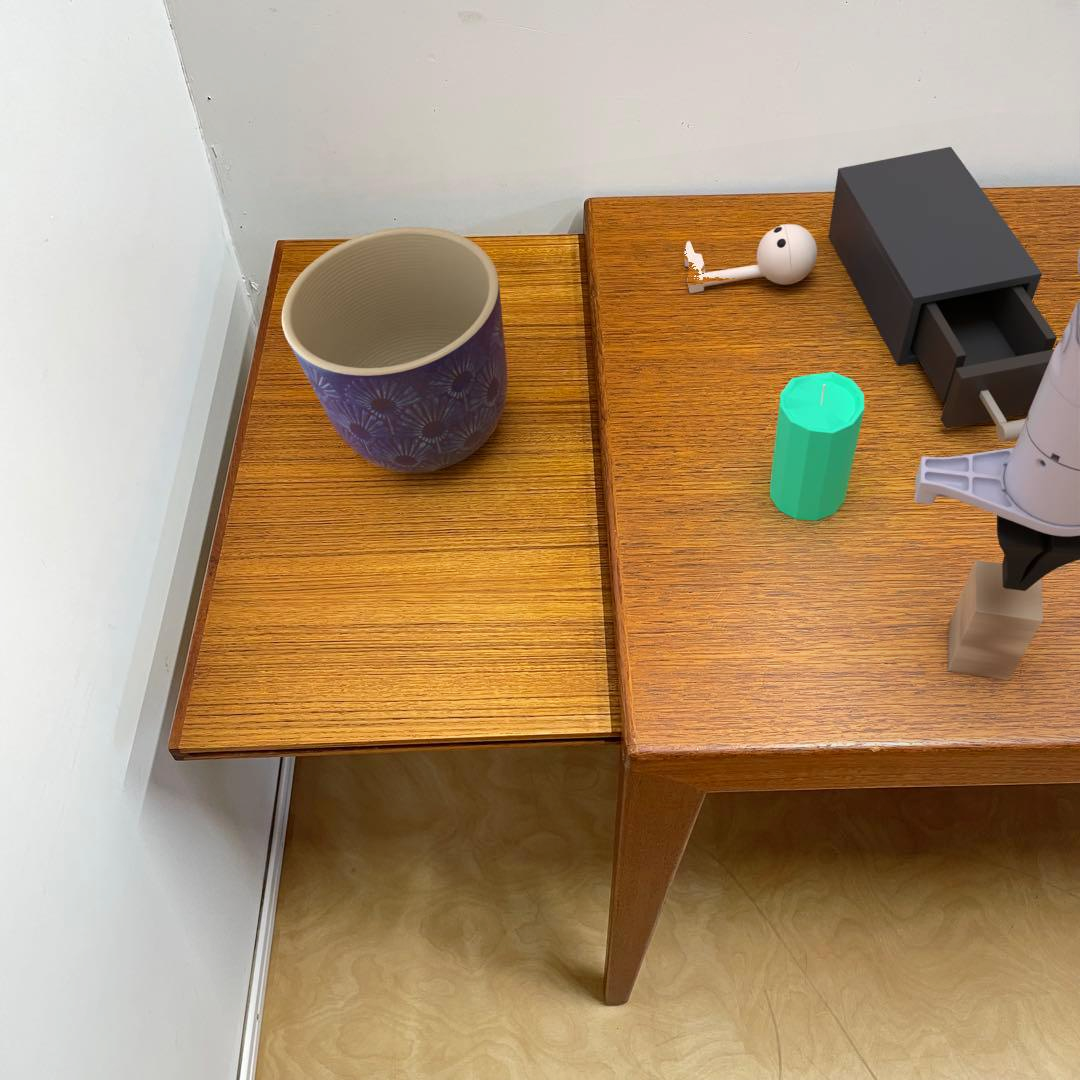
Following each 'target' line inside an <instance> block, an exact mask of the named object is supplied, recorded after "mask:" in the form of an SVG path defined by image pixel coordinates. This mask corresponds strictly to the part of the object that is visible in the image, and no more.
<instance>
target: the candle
mask: <svg viewBox="0 0 1080 1080" xmlns="http://www.w3.org/2000/svg"><path fill="white" fill-rule="evenodd" d="M864 413H865V394H864V392H863V391H862V389H861V388H860V387H859V386H858V384H857V383H856V382H855V381H854V379H853V378H849V377H847V376H845V375H842V374H839V373H837V372H834V371H831V372H822V373H813V374H807V375H801V376H796V377H792V378H791V379H790V381H789V382H788V383H787V385H786V386H785V387H784V389H783V390H782V391H781V392H780V395H779V405H778V413H777V421H776V430H775V439H774V445H773V447H774V448H773V457H772V465H771V473H770V474H771V475H770V482H769V483H770V484H769V498H770V499H771V501H772V502H773V503H774V505H775V507H776V508H777V509H778V511H779V512H781V513H783V514H784V515H787V516H789V517H791V518H793V519H794V520H801V521H814V522H816V521H820V520H823V519H824V518H828V517H830V516H833V515H835V514H836V513H837V512H838V510H839V509H840V508H841V506H842V505H843V504H844V503H845V501H846V496H847V491H848V488H849V483H850V478H851V475H852V474H851V473H852V468H853V464H854V460H855V454H856V450H857V445H858V441H859V435H860V432H861V427H862V421H863V416H864Z"/></svg>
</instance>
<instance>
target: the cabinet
mask: <svg viewBox="0 0 1080 1080" xmlns="http://www.w3.org/2000/svg"><path fill="white" fill-rule="evenodd" d="M828 229H829V230H828V238H829V241H830V243H831V244H832V246H833V248H834V250H835V251H836V254H837V256H838V258H839V259H840V262H841V263H842V265H843V267H844V269H845V270H846V272H847V274H848V276H849V278H850V280H851V281H852V283H853V285H854V287H855V289H856V291H857V293H858V295H859V297H860V299H861V301H862V302H863V305H864V306H865V308H866V310H867V311H868V313H869V315H870V318H871V319H872V321H873V323H874V325H875V327H876V328H877V330H878V332H879V334H880V336H881V338H882V339H883V342H884V343H885V345H886V347H887V349H888V351H889V352H890V355H891V356H892V358H893V360H894V362H895V364H896V366H897V367H901V366H905V365H910V364H916V363H920V361H919V359H918V358H917V356H916V354H915V352H914V350H913V349H912V347H911V343H912V339H913V335H914V331H915V327H916V323H917V319H918V315H919V312H920V308H921V304H922V303H928V302H933V301H938V300H943V299H948V298H953V297H959V296H964V295H969V294H974V293H979V292H984V291H990V290H995V289H1000V288H1005V287H1010V286H1015V285H1020V284H1021V285H1022V287H1023V288H1024V290H1025V291H1026V293H1027V294H1028V296H1029V297H1030V298H1031V300H1032V301H1033V300H1034V297H1035V294H1036V293H1037V289H1038V286H1039V285H1040V284H1039V283H1040V281H1041V278H1042V276H1043V272H1042V271H1041V269H1040V268H1039V267H1038V265H1037V264H1036V263H1035V261H1034V260H1033V258H1032V257H1031V256H1030V254H1029V253H1028V252H1027V250H1026V248H1025V247H1024V246H1023V244H1022V243H1021V242H1020V241H1019V240H1020V239H1018V238H1017V236H1016V234H1015V233H1014V232H1013V231H1012V229H1011V227H1010V226H1009V225H1008V224H1007V222H1006V220H1005V219H1004V218H1003V216H1001V214H1000V213H999V211H998V209H996V207H995V205H994V204H993V202H992V201H991V200H990V199H989V197H988V195H986V193H985V192H984V190H983V189H982V188H981V187H980V185H979V183H978V182H977V181H976V179H975V178H974V176H973V175H972V174H971V173H970V171H969V170H968V169H967V166H966V165H965V163H963V162H962V160H961V159H960V157H959V155H957V153H956V151H955V150H954V149H953V148H952V146H948V147H947V146H946V147H942V148H936V149H931V150H926V151H922V152H921V151H920V152H915V153H910V154H905V155H901V156H900V155H899V156H897V157H891V158H885V159H879V160H874V161H870V162H864V163H859V164H855V165H849V166H844V167H843V166H842V167H839V168H838V169H837V174H836V181H835V187H834V194H833V203H832V208H831V215H830V223H829V228H828Z"/></svg>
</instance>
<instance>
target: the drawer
mask: <svg viewBox="0 0 1080 1080" xmlns="http://www.w3.org/2000/svg"><path fill="white" fill-rule="evenodd" d="M1057 339H1058V336H1057V334H1056V333H1055V331H1054V330H1053V329H1052V327H1051V326H1050V325H1049V323H1048V322H1047V320H1046V319H1045V317H1044V316H1043V314H1042V313H1041V312H1040V310H1039V308H1038V307H1037V305H1036V304H1035V303H1034V302H1033V300H1031V298H1030V297H1029V296H1028V294H1027V293H1026V291H1025V290H1024V288H1023V287H1022V285H1021V284H1020V285H1015V286H1010V287H1005V288H1000V289H995V290H990V291H984V292H979V293H974V294H969V295H964V296H959V297H953V298H948V299H943V300H938V301H933V302H928V303H922V304H921V308H920V312H919V315H918V319H917V323H916V327H915V331H914V335H913V339H912V343H911V347H912V349H913V350H914V352H915V354H916V356H917V358H918V359H919V361H920V362H919V363H920V365H921V367H922V368H923V370H924V372H925V375H926V376H927V377H928V379H929V381H930V383H931V385H932V387H933V388H934V391H935V392H936V393H937V395H938V397H939V400H940V401H941V402H942V404H944V405H943V409H942V412H941V415H940V421H941V423H942V425H943V426H944V429H945V430H950V429H954V428H959V427H965V426H969V425H975V424H980V423H985V422H991V421H993V423H994V424H995V425H996V427H995V435H996V438H997V440H998V441H999V442H1001V443H1003V442H1009V441H1014V440H1018V437H1019V435H1020V432H1021V430H1022V428H1023V425H1024V423H1025V421H1026V418H1021V419H1018V420H1011V421H1007V419H1006V418H1010V417H1016V416H1021V415H1028V413H1029V410H1030V408H1031V405H1032V403H1033V400H1034V398H1035V395H1036V393H1037V391H1038V388H1039V386H1040V383H1041V381H1042V378H1043V376H1044V373H1045V371H1046V369H1047V366H1048V364H1049V361H1050V359H1051V356H1052V354H1053V352H1054V350H1055V348H1054V347H1055V344H1056V341H1057Z"/></svg>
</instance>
